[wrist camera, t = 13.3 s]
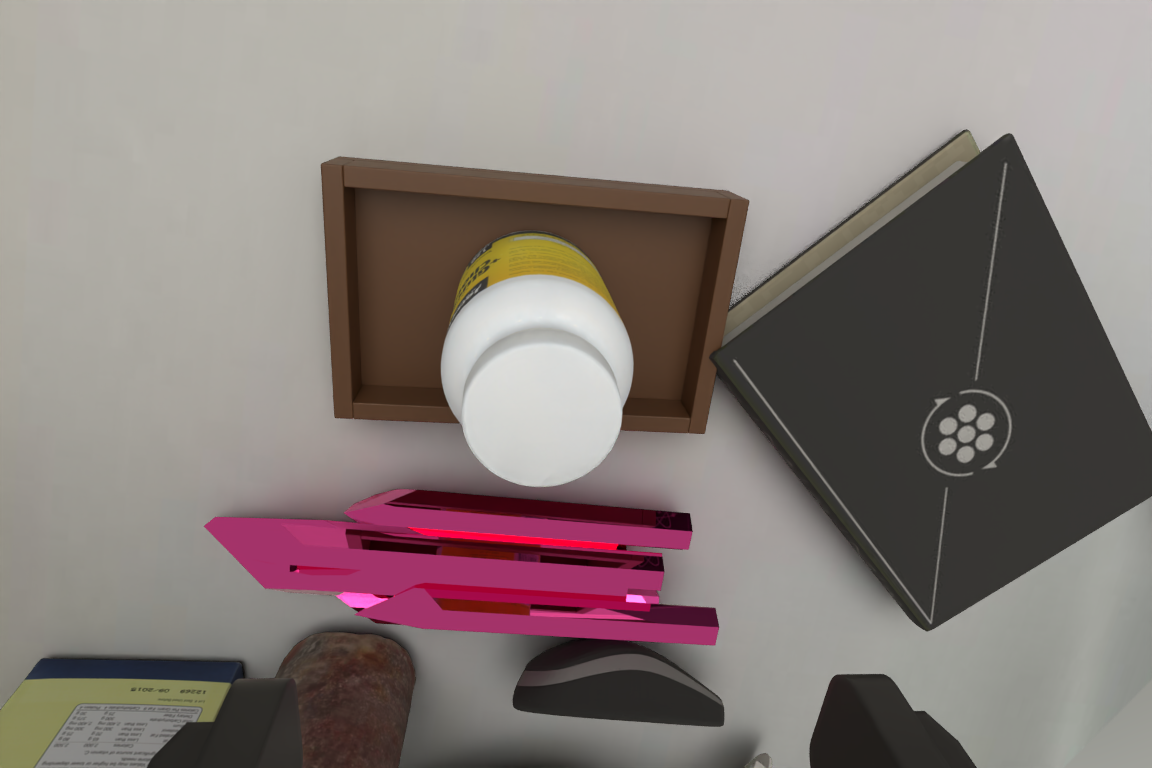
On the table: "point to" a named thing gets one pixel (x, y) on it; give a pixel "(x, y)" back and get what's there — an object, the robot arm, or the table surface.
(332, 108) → the table surface
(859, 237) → the book
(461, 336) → the pill bottle
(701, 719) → the computer mouse
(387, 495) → the crystal
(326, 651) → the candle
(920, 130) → the table surface
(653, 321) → the serving tray
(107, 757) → the protein box
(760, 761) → the drain cover
